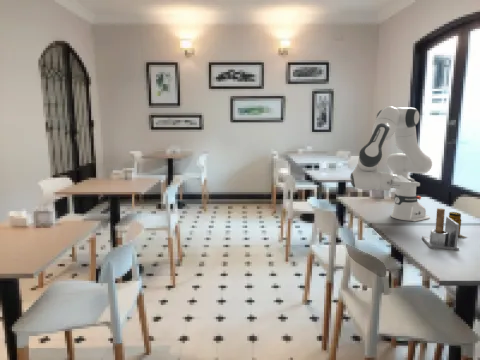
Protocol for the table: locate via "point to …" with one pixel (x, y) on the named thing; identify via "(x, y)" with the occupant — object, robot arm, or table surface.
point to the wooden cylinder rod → (440, 220)
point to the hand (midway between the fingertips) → (416, 182)
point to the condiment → (457, 219)
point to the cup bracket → (444, 237)
